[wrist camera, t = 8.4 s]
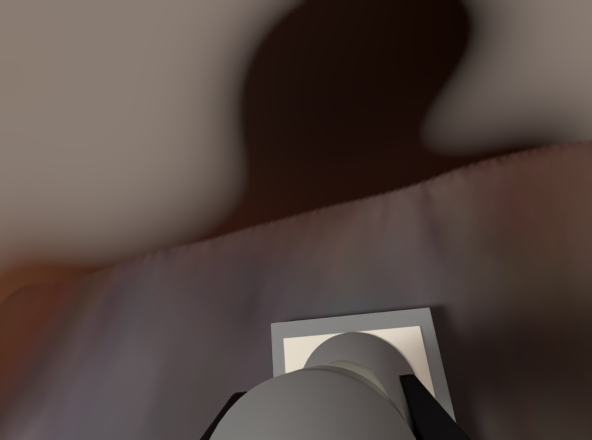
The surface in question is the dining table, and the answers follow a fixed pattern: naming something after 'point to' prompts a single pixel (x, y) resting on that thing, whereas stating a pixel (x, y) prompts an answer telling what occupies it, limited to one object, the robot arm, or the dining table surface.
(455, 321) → the dining table surface
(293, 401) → the knob
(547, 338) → the dining table surface
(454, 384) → the dining table surface
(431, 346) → the board
